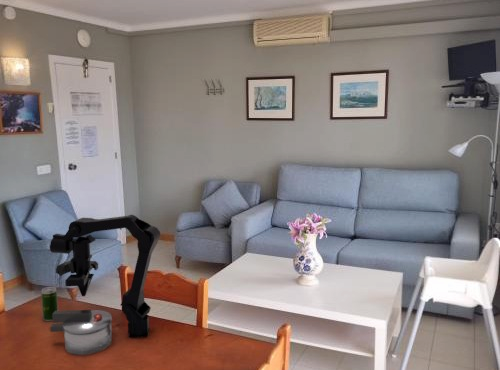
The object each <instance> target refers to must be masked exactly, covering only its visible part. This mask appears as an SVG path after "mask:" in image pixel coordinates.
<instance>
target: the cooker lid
mask: <svg viewBox="0 0 500 370" xmlns="http://www.w3.org/2000/svg"><path fill="white" fill-rule="evenodd" d="M52 318H53V321H52V324H59V323H62V324H63V329H64V331H66V332H67V333H71V334H89V333H94V332H97V331H100V330H103V329H104V328H106V327H108V326H109V325H110V324H111V325H112V321H113V316H112V314H111V313H110V312H108V311H106V310H101V309H100V310H99V309H98V310H97V309H75V310H58V311H55V312H54V313H53V314H52ZM64 331H63V332H64Z"/></svg>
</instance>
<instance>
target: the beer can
mask: <svg viewBox="0 0 500 370" xmlns="http://www.w3.org/2000/svg"><path fill="white" fill-rule="evenodd" d="M40 293H41V294H40V295H41V308H42V319H43V320H44V321H45V322H53V318H52V314H53V313H54V312H55V311H59V306H58V305H59V304H58V290H57V287H56V286H45V287H43V288H42V289H41V292H40Z"/></svg>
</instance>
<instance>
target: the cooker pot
mask: <svg viewBox="0 0 500 370" xmlns="http://www.w3.org/2000/svg"><path fill="white" fill-rule="evenodd" d="M49 329H50V333H51V332H53V333H55V332H59V333H61V332H63V335H64V336H63V337H64V347H65V348H64V349H65V351H66V352H67V353H69V354H71V355H75V356H85V355H86V356H87V355H92V354H96V353H100V352H101V351H104V350H105V349H107V348H108V347H109V346H110V345H111V344H112V341H113V339H112V336H113V335H112V323H111V324H110V325H109V326H108V327H106V328H104V329H103V330H100V331H97V332H94V333H89V334H71V333H67V332H66V331H64V329H63V323H52V324H51V326H50V327H49Z"/></svg>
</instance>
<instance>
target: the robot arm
mask: <svg viewBox="0 0 500 370" xmlns="http://www.w3.org/2000/svg"><path fill="white" fill-rule="evenodd" d="M118 229H119V230H120V229H126V230H128V232H129V234H130V235H132V237H133V238H134V239H135V240H137V251H138V255H137V259H136V264H135V267H134V272H133V277H132V281H131V285H130V288H129V289H128V290H127V291H126V292H124V293H123V295H122V299H121V300H122V301H121V303H120V304H119V305H120V306H121V311H122V312H123V314H124V315H125V318H126V320H127V333H128V338H130V339H131V338H133V339H135V338H148V336H149V334H150V333H149V332H150V330H151V328H150V326H149V325H150V324H149V323H150V322H149V314H150V311H151V306H150V305H149V304H148V303H147V302H146V301H145V291H144V287H145V283H146V281H147V280H146V279H147V275H148V270H149V266H150V262H151V258H152V254H153V252H154V250H155V248H156V246H157V244H158V242H159V240H160V238H161V231H160V229H158V227H156V226H153V225H151V224H150V223H148V222H147V221H145V220H142V219H140V218H138V217H137V216H136V215H134V214H129V215H123V216H115V217H114V216H113V217H106V218H105V217H104V218H93V217H81V218H78V219H76V220H73V221H71V222H70V223H69V225H68V230H67V231H66V232H65V234H62V233H55V234H52V239H51V241H50V244H49V251H50V252H51V253H52V254H63V255H65V254H66V255H67V254H70V253H71V252H72V258H70V260H68V261H64V262H62V263H60V264H58V265H56V268H55V273H56V274H57V275H59V277H61V276H63V275H65V274H68V273H70V275H69V276H68V277H67V278H65V280H64V283H65V287H77V288H78V290H79V292H80V294H81V296H82V297H85V296H86V295H87V293H88V291H89V287H90V285H91V283H92V280H93V277H94V275H95V274H94V273H90V272H91V270H93V271H97V270H98V269H99V262H97V261H96V260H91V259H92V258H93V254H91V247H90V246H91V245H90V244H92V243H93V242H95V241H96V238H95V237H93V236H92V234H93V233H95V232H101V231H102V232H104V231H109V230H118Z"/></svg>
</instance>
